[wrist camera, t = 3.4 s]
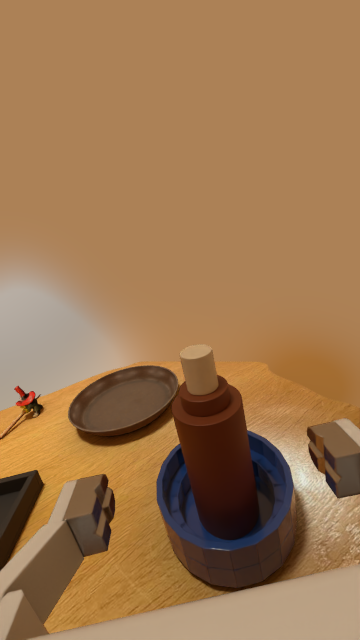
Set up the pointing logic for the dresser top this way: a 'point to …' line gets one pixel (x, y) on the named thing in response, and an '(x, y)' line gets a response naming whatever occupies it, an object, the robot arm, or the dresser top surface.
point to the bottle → (215, 447)
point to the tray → (16, 508)
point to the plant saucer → (123, 400)
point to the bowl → (239, 554)
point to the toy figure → (25, 406)
